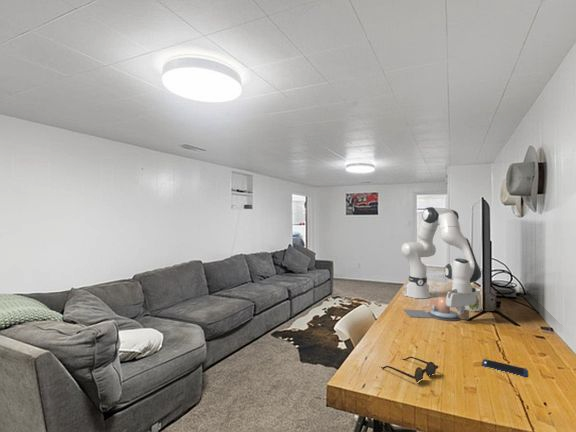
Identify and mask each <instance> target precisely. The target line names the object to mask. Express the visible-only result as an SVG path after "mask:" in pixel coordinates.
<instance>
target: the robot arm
mask: <svg viewBox="0 0 576 432" xmlns="http://www.w3.org/2000/svg"><path fill="white" fill-rule="evenodd" d="M421 217H422V219H421V220H420V223H419V226H418V228H417V231H416V235H417V237H418V238H419V240H418V241H407V242H404V243H403V244H402V245H401V247H400V249H401V254H402V256H403V257H405V258H406V260H407V261H408V264H409V275H408V282H407V283H406V284H405V285H404V286H403V290H402V293H403V296H404V297H409V298H413V299H430V298H432V295H431V294H430V285H429V284H428V277H427V265H426V264H425V263H424V262H422V260H421V259H422V258H429V257H433V256H434V255H435V254H436V251H437V248H436V245H435V244H434V242H433V241H434V237H435V234H436V231H437V230H438V226H439V231H440V232H439V234H440V237H441V240H442V241H443V242H444V243H445V244H448V245H449V246H453V247H455V248H458V250H460V251H462V253H463V255H464V258H455V259H453V262H449V263H447V264H446V265H445V266H444V276H445V277H446V278H447V279H448V280H451V281H452V282H451V285H452V286H451V289H449V291H447V294H446V296H445V297H446V306H448V307H450V309H452V308H456V310H458V314H464V310H466V308H465V306H469V305H475V303H476V293H475V292H476V288H477V287H474V286H471V283H476V282H477V281H479V280H480V279H481V278H482V271H480V270H481V267H480V266H479V264H478V262H477V259H476V256H475V254H474V250H473V248H472V245H471V243H470V240H469V239H468V238H467V237H466V236H464V235H463V232H462V231H461V225H460V222H459V213H458V212H457V211H456V210H453V209H450V208H449V209H448V208H444V207H431V206H429V207H425V209H424V210H423V212H422V215H421Z"/></svg>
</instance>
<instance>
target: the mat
mask: <svg viewBox="0 0 576 432" xmlns="http://www.w3.org/2000/svg"><path fill="white" fill-rule="evenodd" d="M402 310H403V312H405V313H406V315H408V316H409V318H420V319H433V318H432V317H431V316H429V315H428V312H427V311H425V310H421V309H402Z"/></svg>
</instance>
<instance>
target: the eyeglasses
mask: <svg viewBox="0 0 576 432" xmlns="http://www.w3.org/2000/svg"><path fill="white" fill-rule="evenodd" d="M401 359H402V360H403V361H407V360H410V359H413V360H416V361H419V362H421V363H423V364H426V366H425V368H422V367H420V366H417V367H416V368H415V371H414V375H413V374H410V373H407V372H405V371H403V370H400V369H399V368H395V367H393V366H390V365H384V366H380V367H381V368H382V369H381V368H380V369H381V370H384V369H387V368H389V369H390V370H394V371H396V372H398V373H400V374H402V375H405V376H406V377H409V378H411V379H413V380H414V381H415V382H416V383H417V382H418V381H419V380H421V379H423V380H424V374H426V376H427V377H428V376H429V375H432V374H434V375H436V371H437V369H439V366H438V365H436V364H435V363H434V361H433V362H432V361H429V362H428V361H425V360H423V359H420V358H417V357H415V356H407V357H406V358H401Z"/></svg>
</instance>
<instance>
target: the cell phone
mask: <svg viewBox="0 0 576 432" xmlns="http://www.w3.org/2000/svg"><path fill="white" fill-rule="evenodd" d="M483 366H485V367H484V368H486V367H490V368H494V369H497V370H496V371H498V370H501V371H500V372H502V371H505V372H504V373H506V372H509V373H508V374H510V373H513V374H512V375H514V374H516V375H515V376H518V375H520V376H519V377H522V376H523V378H528V369H526V368H524V367H520V366H516V365H511V364H507V363H503V362H499V361H494V360H490V359H487V358H484V359H483V360H482V363H481V367H483ZM490 368H489V369H490ZM494 369H493V370H494Z"/></svg>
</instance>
